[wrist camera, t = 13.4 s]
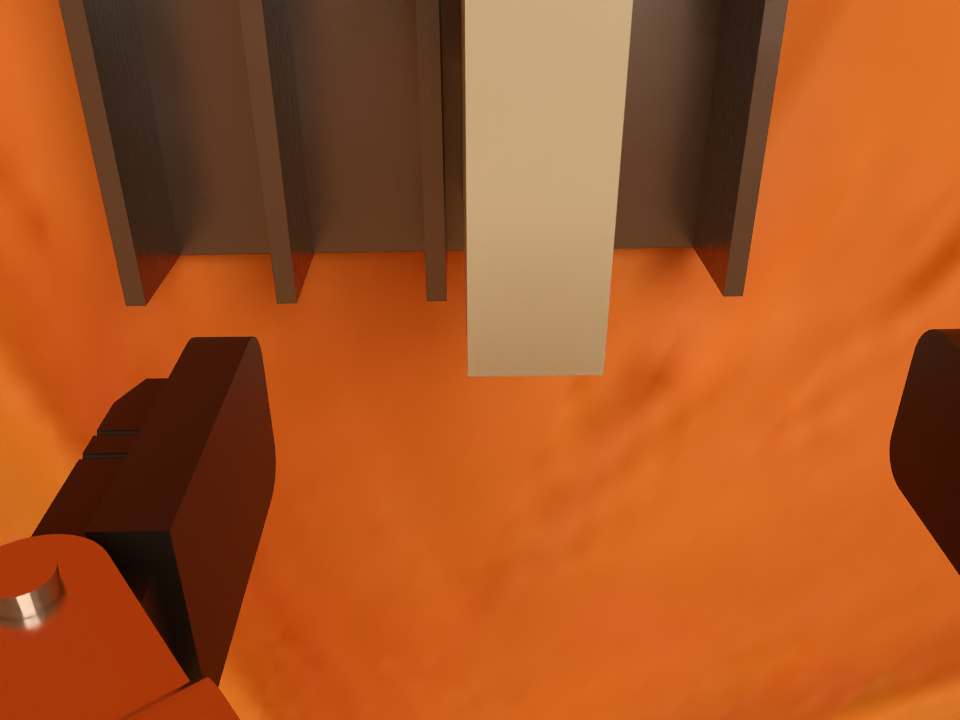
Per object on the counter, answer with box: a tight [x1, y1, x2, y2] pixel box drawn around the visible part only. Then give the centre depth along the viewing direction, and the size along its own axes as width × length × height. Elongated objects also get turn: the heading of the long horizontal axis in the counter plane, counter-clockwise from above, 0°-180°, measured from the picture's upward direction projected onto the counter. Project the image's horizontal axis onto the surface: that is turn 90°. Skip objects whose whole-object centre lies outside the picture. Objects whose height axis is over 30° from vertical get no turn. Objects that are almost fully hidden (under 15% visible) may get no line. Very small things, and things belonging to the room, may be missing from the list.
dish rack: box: [59, 0, 788, 306], centre depth 27 cm, size 12×21×5 cm, turn 91°
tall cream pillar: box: [460, 0, 633, 377], centre depth 23 cm, size 8×3×12 cm, turn 0°
